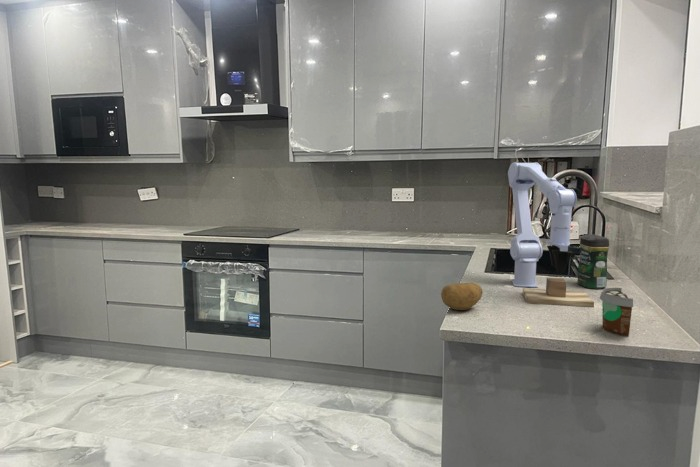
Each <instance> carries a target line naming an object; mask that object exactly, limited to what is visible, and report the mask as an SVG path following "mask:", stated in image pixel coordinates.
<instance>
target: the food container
mask: <svg viewBox="0 0 700 467" xmlns="http://www.w3.org/2000/svg"><path fill="white" fill-rule="evenodd" d="M622 289H623V288H622V287H605V288H602V291H601V292H600V294H599V299H600V300H601V302H602V305H601V307H602V308H601V310H602V312H601V313H602V319H601V320H602V329H603V330H604V332H607V333H610V334H613V335H617V336H624V337H630V328H631V321H632V320H631V319H632V313H633V312H632V310H633V308H634V298H629V297H628V295H627V294H626V293H623V292H622Z"/></svg>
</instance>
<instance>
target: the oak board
mask: <svg viewBox="0 0 700 467" xmlns="http://www.w3.org/2000/svg"><path fill="white" fill-rule="evenodd" d="M522 294H523V297H524V299H525V300H526V302H527V304H534V305H535V304H536V305H537V304H538V305H551V306H552V305H554V306H555V305H556V306H567V307H568V306H569V307H570V306H571V307H584V308H585V307H587V308H594V307H595V302H594V300H592V298H591V297H589V295H587V293H586V292H585V291H581V290H579V291H578V290H566V297H550V296H548V295H547V293H546V289H541V288H526V287H522Z"/></svg>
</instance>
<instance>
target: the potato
mask: <svg viewBox="0 0 700 467" xmlns="http://www.w3.org/2000/svg"><path fill="white" fill-rule="evenodd" d="M482 295H483V289H482V287H481V285H480V284H478V283H475V282H458V283H452V284H447V285H445V286H444V287H443V288H442V289H441V293H440V297H441V299H442V303H443V304H444V305H445V306H447V307H448V308H450V309H453V310H457V311H467V310H469V309H471V308H472V307H474V306H475V305H477V303H479V302H480V300H481V299H482Z"/></svg>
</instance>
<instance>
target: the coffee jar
mask: <svg viewBox="0 0 700 467" xmlns="http://www.w3.org/2000/svg"><path fill="white" fill-rule="evenodd" d="M579 240H580V241H579V252H580V253H579V264H578V272H577V284H578V285H580V286H582V287H584V288H587V289H594V290H601V289H602V290H603V289H606V288H607V282H608V281H607V277H608V273H607V272H608V270H607V269H608V253H609V250H610V239H609V238H607V237H606V236H601V235H597V234H594V233H593V234H582V236H580V239H579Z"/></svg>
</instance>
